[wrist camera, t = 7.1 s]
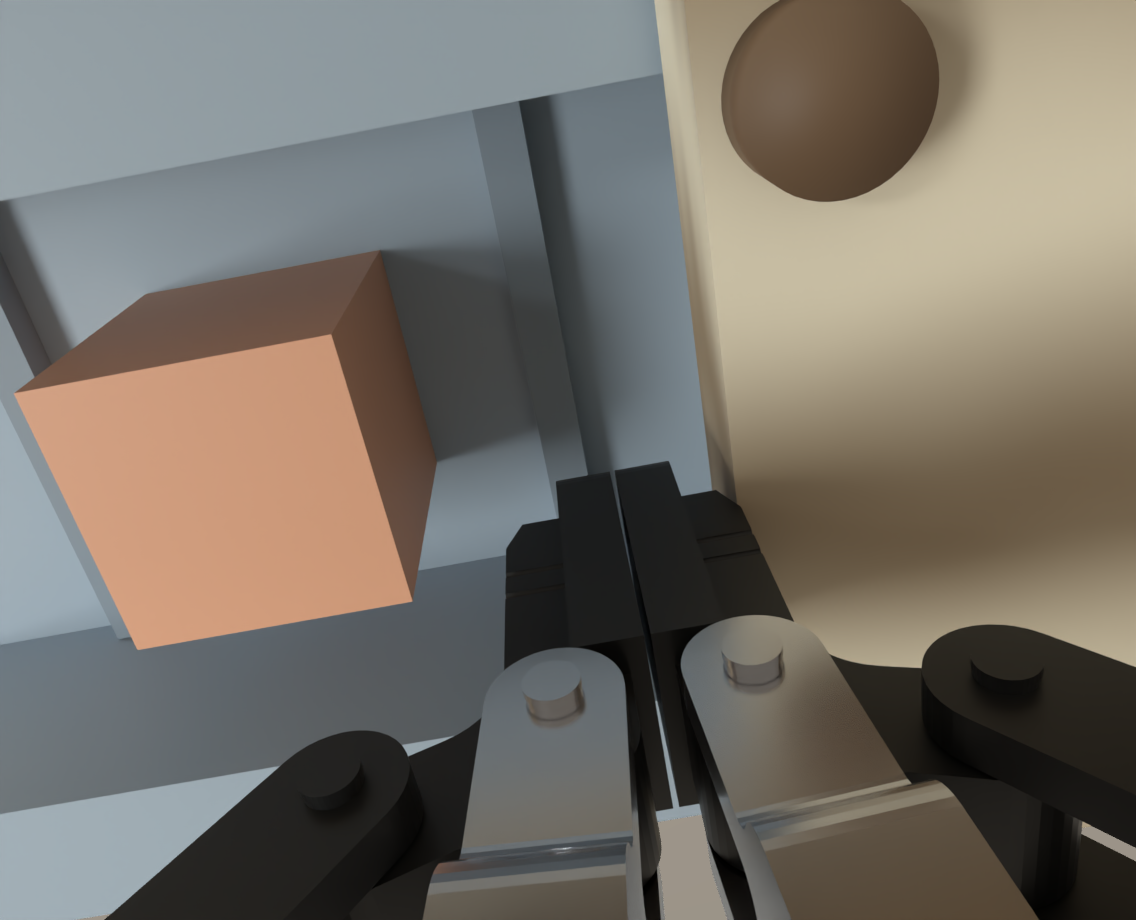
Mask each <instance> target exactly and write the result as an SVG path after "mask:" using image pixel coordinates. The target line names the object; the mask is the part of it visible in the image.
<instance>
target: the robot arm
mask: <svg viewBox="0 0 1136 920" xmlns="http://www.w3.org/2000/svg"><path fill="white" fill-rule="evenodd" d="M614 472H615V479H616V485H617V491H618V497H619V503H620V509H621V514H622V520H623V526H624V532H625V538H626V544H627V550H628V556H629V561H630V566H629V561H628V556H627V551H626V547H625V542H624V537H623V532H622V528H621V523H620V518H619V513H618V508H617V504H616V499H615V494H614V489H613V484H612V480H611V475H610V471H609V472H604V473H598V474H593V475H587V476H581V477H576V478H570V479H565V480H559V481H556V491H557V503H558V514H559V518H557V519H551V520H545V521H540V522H534V523H529V524H523V525H522V526H521V527H520V529H519V530H518V532H517V533H516V535H515V536H514V538H513V539H512V541H511V542H510V544H509V545H508V547H507V548H506V583H505V594H506V599H505V642H504V671H503V672H502V673H501V674H500V675H499V676H498V677H497V678H496V679H495V680H494V682H493V683H492V684H491V685H490V687H489V689H488V691H487V693H486V696H485V700H484V705H483V712H482V717H481V718H480V719H479V720H478V721H477V722H475V723H474V724H473V725H471V726H470V727H469V728H467V729H466V730H464V731H462V732H461V733H459V734H458V735H456V736H453V737H451V738H449V739H447V740H445V741H443V742H441V743H438V744H436V745H434V746H431V747H429V748H427V749H424V750H422V751H420V752H417V753H415V754H412V755H410V756H408V755H407V752H406V751H405V749H404V747H403V746H402V745H401V744H400V743H399V742H398V741H397V740H396V739H394V738H392V737H391V736H389V735H387V734H383V733H380V732H376V731H369V730H356V731H348V732H343V733H339V734H335V735H331V736H329V737H326V738H323V739H321V740H318V741H316V742H314V743H312V744H310V745H308V746H306V747H305V748H303V749H302V750H300V751H298V752H297V753H295V754H294V755H293V756H292V757H290V758H289V759H288V760H287V761H285V762H284V763H283V764H282V765H281V766H280V767H278V768H277V769H276V770H275V771H274V772H273V773H272V774H270V775H269V776H268V777H267V778H266V779H265V780H264V781H262V782H261V783H260V784H259V785H258V786H257V787H256V788H254V789H253V790H252V791H251V792H250V793H249V794H248V795H246V796H245V797H244V798H243V799H242V800H241V801H240V802H238V803H237V804H236V805H235V806H234V807H233V808H232V809H230V810H229V811H228V812H227V813H226V814H225V815H224V816H222V817H221V818H220V819H219V820H218V821H217V822H216V823H214V824H213V825H212V826H211V827H210V828H209V829H208V830H206V831H205V832H204V833H203V834H202V835H201V836H200V837H198V838H197V839H196V840H195V841H194V842H193V843H192V844H190V845H189V846H188V847H187V848H186V849H185V850H184V851H182V852H181V853H180V854H179V855H178V856H177V857H176V858H174V859H173V860H172V861H171V862H170V863H169V864H168V865H166V866H165V867H164V868H163V869H162V870H161V871H160V872H158V873H157V874H156V875H155V876H154V877H153V878H152V879H150V880H149V881H148V882H147V883H146V884H145V885H144V886H142V887H141V888H140V889H139V890H138V891H137V892H136V893H134V894H133V895H132V896H131V897H130V898H129V899H128V900H126V901H125V902H124V903H123V904H122V905H121V906H120V907H118V908H117V909H116V910H115V911H114V912H113V913H112V914H110V915H109V916H108V917H107V918H106V919H105V920H665V916H664V904H663V892H662V881H661V875H660V870H659V861H660V856H661V839H660V833H659V827H658V822H657V816H656V811H662V810H668V809H673V803H672V798H671V792H670V786H669V780H668V774H667V768H666V762H665V756H664V750H663V744H662V739H661V733H660V727H659V721H658V715H657V709H656V703H655V697H654V691H653V685H652V679H651V674H652V678H653V683H654V688H655V693H656V698H657V702H658V707H659V712H660V717H661V722H662V726H663V731H664V736H665V741H666V746H667V750H668V755H669V760H670V765H671V770H672V774H673V779H674V784H675V789H676V794H677V798H678V803H679V807H683V806H689V805H695V804H699V805H700V810H701V814H702V818H703V822H704V827H705V831H706V837H707V844H708V851H709V858H710V864H711V869H712V873H713V876H714V879H715V883H716V886H717V888H718V892H719V895H720V898H721V901H722V904H723V907H724V910H725V913H726V916H727V920H1136V861H1134V860H1132V859H1130V858H1128V857H1126V856H1124V855H1122V854H1120V853H1118V852H1116V851H1114V850H1112V849H1110V848H1108V847H1106V846H1104V845H1102V844H1100V843H1098V842H1096V841H1094V840H1092V839H1090V838H1088V837H1086V836H1084V835H1082V834H1081V831H1082V822H1085V823H1087V824H1089V825H1091V826H1093V827H1095V828H1097V829H1099V830H1101V831H1103V832H1105V833H1107V834H1109V835H1111V836H1113V837H1115V838H1117V839H1119V840H1121V841H1123V842H1125V843H1127V844H1129V845H1131V846H1133V847H1136V667H1134V666H1132V665H1129V664H1126V663H1123V662H1121V661H1118V660H1115V659H1112V658H1110V657H1107V656H1104V655H1101V654H1099V653H1096V652H1093V651H1090V650H1087V649H1085V648H1082V647H1079V646H1076V645H1074V644H1071V643H1068V642H1065V641H1063V640H1060V639H1057V638H1054V637H1052V636H1049V635H1046V634H1043V633H1040V632H1037V631H1034V630H1031V629H1027V628H1022V627H1017V626H1009V625H994V624H986V625H975V626H969V627H964V628H960V629H957V630H954V631H951V632H949V633H947V634H945V635H943V636H941V637H940V638H938V639H937V640H936V641H935V642H933V643H932V644H931V645H930V647H929V648H928V649H927V650H926V652H925V654H924V657H923V660H922V667H921V668H911V667H892V666H877V665H867V664H861V663H856V662H851V661H847V660H844V659H841V658H838V657H835V656H833V655H831V654H829V653H828V651H827V650H826V648H825V646H824V645H823V643H822V642H821V641H820V640H819V638H818V637H817V636H816V635H815V634H814V633H812V632H811V631H810V630H809V629H807V628H805V627H804V626H802V625H800V624H798V623H795V622H794V620H793V618H792V616H791V614H790V611H789V609H788V607H787V605H786V603H785V601H784V598H783V596H782V594H781V592H780V590H779V588H778V585H777V583H776V581H775V579H774V577H773V575H772V573H771V570H770V568H769V566H768V564H767V562H766V560H765V557H764V555H763V553H761V550H760V547H759V544H758V542H757V540H756V538H755V536H754V534H752V529H751V527H750V525H749V523H748V521H747V518H746V516H745V514H744V512H743V510H742V508H741V506H739V505H738V504H736V503H735V502H733V501H732V500H730V499H729V498H727V497H726V496H724V495H723V494H721V493H720V492H718V491H717V490H713V491H707V492H701V493H696V494H690V495H685V496H681V494H680V491H679V488H678V485H677V482H676V479H675V476H674V474H673V471H672V468H671V465H670V462H669V461H664V462H658V463H653V464H647V465H642V466H636V467H631V468H625V469H619V470H614ZM630 567H631V571H630ZM631 573H632V575H631ZM632 579H633V580H632ZM633 584H634V585H633ZM647 654H648V656H647ZM648 659H649V662H648ZM649 664H650V668H649ZM650 669H651V674H650Z"/></svg>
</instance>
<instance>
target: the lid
mask: <svg viewBox="0 0 1136 920" xmlns="http://www.w3.org/2000/svg"><path fill="white" fill-rule="evenodd" d="M654 3H655V11H656V19H657V28H658V36H659V45H660V53H661V62H662V70H663V79H664V87H665V96H666V104H667V113H668V121H669V129H670V138H671V146H672V155H673V163H674V172H675V180H676V189H677V197H678V206H679V214H680V223H681V231H682V239H683V248H684V256H685V265H686V273H687V282H688V290H689V299H690V307H691V316H692V324H693V333H694V341H695V349H696V358H697V366H698V375H699V383H700V392H701V400H702V409H703V417H704V426H705V434H706V443H707V451H708V459H709V468H710V476H711V485H712V491H713V490H717V491H718V492H720V493H721V494H723V495H724V496H726V497H727V498H729V499H730V500H732V501H733V502H735V503H736V504H738V505H739V506H741V508H742V510H743V512H744V514H745V516H746V518H747V521H748V523H749V525H750V527H751V529H752V534H754V536H755V538H756V540H757V542H758V544H759V547H760V550H761V553H763V555H764V557H765V560H766V562H767V564H768V566H769V568H770V570H771V573H772V575H773V577H774V579H775V581H776V583H777V585H778V588H779V590H780V592H781V594H782V596H783V598H784V601H785V603H786V605H787V607H788V609H789V611H790V614H791V616H792V618H793V620H794V622H795V623H798V624H800V625H802V626H804V627H805V628H807V629H809V630H810V631H811V632H812V633H814V634H815V635H816V636H817V637H818V638H819V640H820V641H821V642H822V643H823V645H824V646H825V648H826V650H827V651H828V653H829V654H831V655H833V656H835V657H838V658H841V659H844V660H847V661H851V662H856V663H861V664H867V665H877V666H892V667H911V668H921V667H922V660H923V657H924V654H925V652H926V650H927V649H928V648H929V647H930V645H931V644H932V643H933V642H935V641H936V640H937V639H938V638H940V637H941V636H943V635H945V634H947V633H949V632H951V631H954V630H957V629H960V628H964V627H969V626H975V625H986V624H994V625H1009V626H1017V627H1022V628H1027V629H1031V630H1034V631H1037V632H1040V633H1043V634H1046V635H1049V636H1052V637H1054V638H1057V639H1060V640H1063V641H1065V642H1068V643H1071V644H1074V645H1076V646H1079V647H1082V648H1085V649H1087V650H1090V651H1093V652H1096V653H1099V654H1101V655H1104V656H1107V657H1110V658H1112V659H1115V660H1118V661H1121V662H1123V663H1126V664H1129V665H1132V666H1134V667H1136V0H654ZM1085 827H1091V825H1089V824H1087V823H1085V822H1082V828H1085Z"/></svg>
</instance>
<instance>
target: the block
mask: <svg viewBox="0 0 1136 920" xmlns="http://www.w3.org/2000/svg"><path fill="white" fill-rule="evenodd" d="M14 395H15V397H16V399H17V401H18V404H19V406H20V408H21V410H22V412H23V414H24V416H25V418H26V420H27V422H28V424H29V426H30V428H31V430H32V433H33V435H34V437H35V439H36V441H37V443H38V445H39V447H40V449H41V451H42V453H43V455H44V457H45V459H46V462H47V464H48V466H49V468H50V470H51V472H52V474H53V476H54V478H55V480H56V482H57V484H58V486H59V488H60V491H61V493H62V495H63V497H64V499H65V501H66V503H67V505H68V507H69V509H70V511H71V513H72V515H73V518H74V520H75V522H76V524H77V526H78V528H79V530H80V532H81V534H82V536H83V538H84V540H85V542H86V544H87V547H88V549H89V551H90V553H91V555H92V557H93V559H94V561H95V563H96V565H97V567H98V569H99V571H100V573H101V576H102V578H103V580H104V582H105V584H106V586H107V588H108V590H109V592H110V594H111V596H112V598H113V600H114V602H115V605H116V607H117V609H118V611H119V613H120V615H121V617H122V619H123V621H124V623H125V625H126V627H127V629H128V631H129V634H130V636H131V638H132V640H133V642H134V644H135V646H136V648H137V650H141V649H147V648H153V647H158V646H164V645H170V644H175V643H181V642H187V641H192V640H198V639H204V638H209V637H215V636H221V635H226V634H232V633H238V632H243V631H249V630H255V629H260V628H266V627H271V626H277V625H283V624H288V623H294V622H300V621H305V620H311V619H317V618H322V617H328V616H334V615H339V614H345V613H351V612H356V611H362V610H368V609H373V608H379V607H385V606H390V605H396V604H402V603H407V602H413V597H414V591H415V585H416V579H417V574H418V568H419V562H420V557H421V551H422V545H423V539H424V534H425V528H426V522H427V517H428V511H429V505H430V500H431V494H432V488H433V482H434V477H435V471H436V465H437V461H436V457H435V453H434V450H433V446H432V442H431V438H430V435H429V431H428V427H427V424H426V420H425V416H424V412H423V409H422V405H421V401H420V397H419V394H418V390H417V386H416V382H415V379H414V375H413V371H412V368H411V364H410V360H409V356H408V353H407V349H406V345H405V341H404V338H403V334H402V330H401V326H400V323H399V319H398V315H397V312H396V308H395V304H394V300H393V297H392V293H391V289H390V285H389V282H388V278H387V274H386V270H385V267H384V263H383V259H382V256H381V252H380V250H377V251H372V252H366V253H361V254H356V255H350V256H345V257H340V258H334V259H329V260H324V261H319V262H313V263H308V264H303V265H297V266H292V267H287V268H281V269H276V270H271V271H266V272H260V273H255V274H250V275H244V276H239V277H234V278H228V279H223V280H218V281H212V282H207V283H202V284H197V285H191V286H186V287H181V288H175V289H170V290H165V291H159V292H154V293H149V294H145V295H144V296H142V297H141V298H140V299H138V300H137V301H136V302H134V303H133V304H132V305H130V306H129V307H128V308H126V309H125V310H124V311H122V312H121V313H120V314H118V315H117V316H116V317H114V318H113V319H112V320H110V321H109V322H108V323H106V324H105V325H104V326H103V327H101V328H100V329H99V330H97V331H96V332H95V333H93V334H92V335H91V336H89V337H88V338H87V339H85V340H84V341H83V342H81V343H80V344H79V345H77V346H76V347H75V348H73V349H72V350H71V351H69V352H68V353H67V354H65V355H64V356H63V357H61V358H60V359H59V360H57V361H56V362H55V363H53V364H52V365H51V366H49V367H48V368H47V369H45V370H44V371H43V372H41V373H40V374H39V375H37V376H36V377H35V378H33V379H32V380H31V381H29V382H28V383H27V384H25V385H24V386H23V387H21V388H20V389H19V390H17V391H16V392H15V393H14Z"/></svg>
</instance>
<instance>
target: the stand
mask: <svg viewBox="0 0 1136 920" xmlns="http://www.w3.org/2000/svg"><path fill="white" fill-rule="evenodd" d="M377 250H380V252H381V256H382V259H383V263H384V267H385V270H386V274H387V278H388V282H389V285H390V289H391V293H392V297H393V300H394V304H395V308H396V312H397V315H398V319H399V323H400V326H401V330H402V334H403V338H404V341H405V345H406V349H407V353H408V356H409V360H410V364H411V368H412V371H413V375H414V379H415V382H416V386H417V390H418V394H419V397H420V401H421V405H422V409H423V412H424V416H425V420H426V424H427V427H428V431H429V435H430V438H431V442H432V446H433V450H434V453H435V457H436V461H437V465H436V471H435V477H434V482H433V488H432V494H431V500H430V505H429V511H428V517H427V522H426V528H425V534H424V539H423V545H422V551H421V557H420V562H419V568H418V574H417V579H416V585H415V591H414V597H413V602H407V603H402V604H396V605H390V606H385V607H379V608H373V609H368V610H362V611H356V612H351V613H345V614H339V615H334V616H328V617H322V618H317V619H311V620H305V621H300V622H294V623H288V624H283V625H277V626H271V627H266V628H260V629H255V630H249V631H243V632H238V633H232V634H226V635H221V636H215V637H209V638H204V639H198V640H192V641H187V642H181V643H175V644H170V645H164V646H158V647H153V648H147V649H141V650H137V648H136V646H135V644H134V642H133V640H132V638H131V636H130V634H129V631H128V629H127V627H126V625H125V623H124V621H123V619H122V617H121V615H120V613H119V611H118V609H117V607H116V605H115V602H114V600H113V598H112V596H111V594H110V592H109V590H108V588H107V586H106V584H105V582H104V580H103V578H102V576H101V573H100V571H99V569H98V567H97V565H96V563H95V561H94V559H93V557H92V555H91V553H90V551H89V549H88V547H87V544H86V542H85V540H84V538H83V536H82V534H81V532H80V530H79V528H78V526H77V524H76V522H75V520H74V518H73V515H72V513H71V511H70V509H69V507H68V505H67V503H66V501H65V499H64V497H63V495H62V493H61V491H60V488H59V486H58V484H57V482H56V480H55V478H54V476H53V474H52V472H51V470H50V468H49V466H48V464H47V462H46V459H45V457H44V455H43V453H42V451H41V449H40V447H39V445H38V443H37V441H36V439H35V437H34V435H33V433H32V430H31V428H30V426H29V424H28V422H27V420H26V418H25V416H24V414H23V412H22V410H21V408H20V406H19V404H18V401H17V399H16V397H15V395H14V393H15V392H16V391H17V390H19V389H20V388H21V387H23V386H24V385H25V384H27V383H28V382H29V381H31V380H32V379H33V378H35V377H36V376H37V375H39V374H40V373H41V372H43V371H44V370H45V369H47V368H48V367H49V366H51V365H52V364H53V363H55V362H56V361H57V360H59V359H60V358H61V357H63V356H64V355H65V354H67V353H68V352H69V351H71V350H72V349H73V348H75V347H76V346H77V345H79V344H80V343H81V342H83V341H84V340H85V339H87V338H88V337H89V336H91V335H92V334H93V333H95V332H96V331H97V330H99V329H100V328H101V327H103V326H104V325H105V324H106V323H108V322H109V321H110V320H112V319H113V318H114V317H116V316H117V315H118V314H120V313H121V312H122V311H124V310H125V309H126V308H128V307H129V306H130V305H132V304H133V303H134V302H136V301H137V300H138V299H140V298H141V297H142V296H144V295H145V294H149V293H154V292H159V291H165V290H170V289H175V288H181V287H186V286H191V285H197V284H202V283H207V282H212V281H218V280H223V279H228V278H234V277H239V276H244V275H250V274H255V273H260V272H266V271H271V270H276V269H281V268H287V267H292V266H297V265H303V264H308V263H313V262H319V261H324V260H329V259H334V258H340V257H345V256H350V255H356V254H361V253H366V252H372V251H377ZM664 461H669V462H670V465H671V468H672V471H673V474H674V476H675V479H676V482H677V485H678V488H679V491H680V494H681V496H685V495H690V494H696V493H701V492H707V491H712V485H711V476H710V468H709V459H708V451H707V443H706V434H705V426H704V417H703V409H702V400H701V392H700V383H699V375H698V366H697V358H696V349H695V341H694V333H693V324H692V316H691V307H690V299H689V290H688V282H687V273H686V265H685V256H684V248H683V239H682V231H681V223H680V214H679V206H678V197H677V189H676V180H675V172H674V163H673V155H672V146H671V138H670V129H669V121H668V113H667V104H666V96H665V87H664V79H663V70H662V62H661V53H660V45H659V36H658V28H657V19H656V11H655V3H654V0H0V920H76V919H82V918H88V917H94V916H100V915H106V914H112V913H113V912H114V911H115V910H116V909H117V908H118V907H120V906H121V905H122V904H123V903H124V902H125V901H126V900H128V899H129V898H130V897H131V896H132V895H133V894H134V893H136V892H137V891H138V890H139V889H140V888H141V887H142V886H144V885H145V884H146V883H147V882H148V881H149V880H150V879H152V878H153V877H154V876H155V875H156V874H157V873H158V872H160V871H161V870H162V869H163V868H164V867H165V866H166V865H168V864H169V863H170V862H171V861H172V860H173V859H174V858H176V857H177V856H178V855H179V854H180V853H181V852H182V851H184V850H185V849H186V848H187V847H188V846H189V845H190V844H192V843H193V842H194V841H195V840H196V839H197V838H198V837H200V836H201V835H202V834H203V833H204V832H205V831H206V830H208V829H209V828H210V827H211V826H212V825H213V824H214V823H216V822H217V821H218V820H219V819H220V818H221V817H222V816H224V815H225V814H226V813H227V812H228V811H229V810H230V809H232V808H233V807H234V806H235V805H236V804H237V803H238V802H240V801H241V800H242V799H243V798H244V797H245V796H246V795H248V794H249V793H250V792H251V791H252V790H253V789H254V788H256V787H257V786H258V785H259V784H260V783H261V782H262V781H264V780H265V779H266V778H267V777H268V776H269V775H270V774H272V773H273V772H274V771H275V770H276V769H277V768H278V767H280V766H281V765H282V764H283V763H284V762H285V761H287V760H288V759H289V758H290V757H292V756H293V755H294V754H295V753H297V752H298V751H300V750H302V749H303V748H305V747H306V746H308V745H310V744H312V743H314V742H316V741H318V740H321V739H323V738H326V737H329V736H331V735H335V734H339V733H343V732H348V731H356V730H369V731H376V732H380V733H383V734H387V735H389V736H391V737H392V738H394V739H396V740H397V741H398V742H399V743H400V744H401V745H402V746H403V747H404V749H405V751H406V752H407V755H408V756H410V755H412V754H415V753H417V752H420V751H422V750H424V749H427V748H429V747H431V746H434V745H436V744H438V743H441V742H443V741H445V740H447V739H449V738H451V737H453V736H456V735H458V734H459V733H461V732H462V731H464V730H466V729H467V728H469V727H470V726H471V725H473V724H474V723H475V722H477V721H478V720H479V719H480V718H481V717H482V712H483V705H484V700H485V696H486V693H487V691H488V689H489V687H490V685H491V684H492V683H493V682H494V680H495V679H496V678H497V677H498V676H499V675H500V674H501V673H502V672H503V671H504V642H505V599H506V594H505V583H506V548H507V547H508V545H509V544H510V542H511V541H512V539H513V538H514V536H515V535H516V533H517V532H518V530H519V529H520V527H521V526H522V525H523V524H529V523H534V522H540V521H545V520H551V519H557V518H559V514H558V503H557V491H556V481H559V480H565V479H570V478H576V477H581V476H587V475H593V474H598V473H604V472H609V471H610V475H611V480H612V484H613V489H614V494H615V499H616V504H617V508H618V513H619V518H620V523H621V528H622V532H623V537H624V542H625V547H626V551H627V556H628V550H627V544H626V538H625V532H624V526H623V520H622V514H621V509H620V503H619V497H618V491H617V485H616V479H615V472H614V470H619V469H625V468H631V467H636V466H642V465H647V464H653V463H658V462H664ZM628 561H629V556H628ZM629 566H630V561H629ZM630 571H631V567H630ZM631 575H632V573H631ZM632 580H633V579H632ZM633 585H634V584H633ZM647 656H648V654H647ZM648 662H649V659H648ZM649 668H650V664H649ZM650 674H651V669H650ZM651 679H652V685H653V691H654V697H655V703H656V709H657V715H658V721H659V727H660V733H661V739H662V744H663V750H664V756H665V762H666V768H667V774H668V780H669V786H670V792H671V798H672V803H673V809H668V810H662V811H656V816H657V822H660V821H666V820H672V819H678V818H683V817H689V816H696V815H702V814H701V810H700V805H699V804H695V805H689V806H683V807H679V803H678V798H677V794H676V789H675V784H674V779H673V774H672V770H671V765H670V760H669V755H668V750H667V746H666V741H665V736H664V731H663V726H662V722H661V717H660V712H659V707H658V702H657V698H656V693H655V688H654V683H653V678H652V674H651Z"/></svg>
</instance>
